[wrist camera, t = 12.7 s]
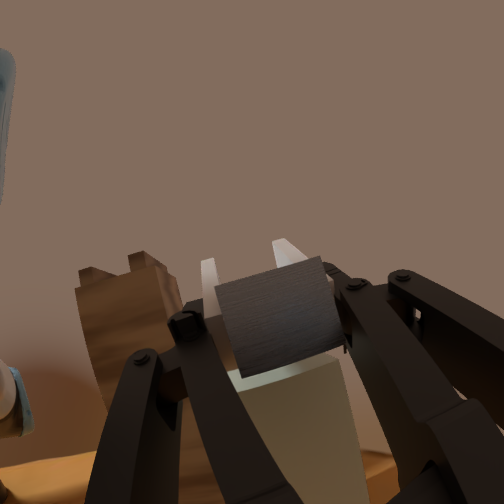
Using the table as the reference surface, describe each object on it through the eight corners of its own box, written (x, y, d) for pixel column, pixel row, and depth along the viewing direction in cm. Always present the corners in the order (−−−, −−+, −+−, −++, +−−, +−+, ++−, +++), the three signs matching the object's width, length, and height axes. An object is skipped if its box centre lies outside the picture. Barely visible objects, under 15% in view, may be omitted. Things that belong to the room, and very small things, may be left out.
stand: (240, 510, 21) (151, 248, 27) (162, 518, 20) (72, 272, 26) (239, 471, 31) (172, 264, 37) (176, 481, 30) (108, 283, 36)
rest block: (375, 538, 11) (338, 359, 15) (296, 566, 11) (221, 396, 14) (341, 489, 21) (301, 342, 25) (280, 509, 20) (227, 364, 24)
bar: (346, 343, 8) (319, 255, 9) (241, 378, 8) (214, 286, 9) (270, 322, 30) (262, 296, 30) (238, 332, 29) (231, 305, 30)
